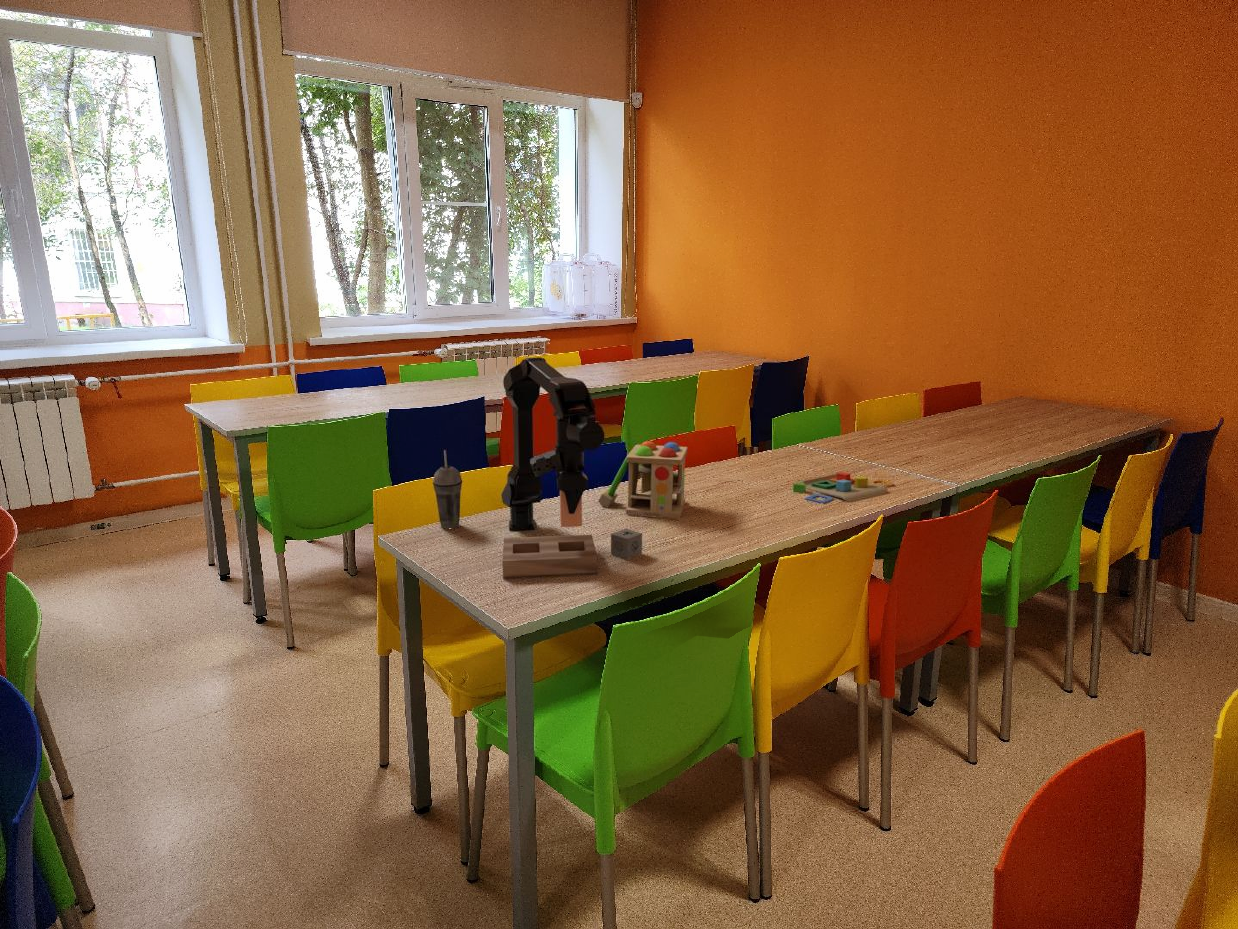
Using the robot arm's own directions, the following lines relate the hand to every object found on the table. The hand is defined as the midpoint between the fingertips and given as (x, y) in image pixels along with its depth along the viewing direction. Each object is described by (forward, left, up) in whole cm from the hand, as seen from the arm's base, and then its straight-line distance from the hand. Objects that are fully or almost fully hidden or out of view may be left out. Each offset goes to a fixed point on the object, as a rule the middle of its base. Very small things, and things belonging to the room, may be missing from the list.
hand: (570, 510), depth 173 cm
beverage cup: (-28, -29, -13) cm, 42 cm away
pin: (0, 0, -3) cm, 3 cm away
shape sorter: (-48, +82, -13) cm, 96 cm away
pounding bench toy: (-38, +21, -13) cm, 45 cm away
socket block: (0, -5, -12) cm, 13 cm away
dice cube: (-4, +13, -13) cm, 19 cm away
